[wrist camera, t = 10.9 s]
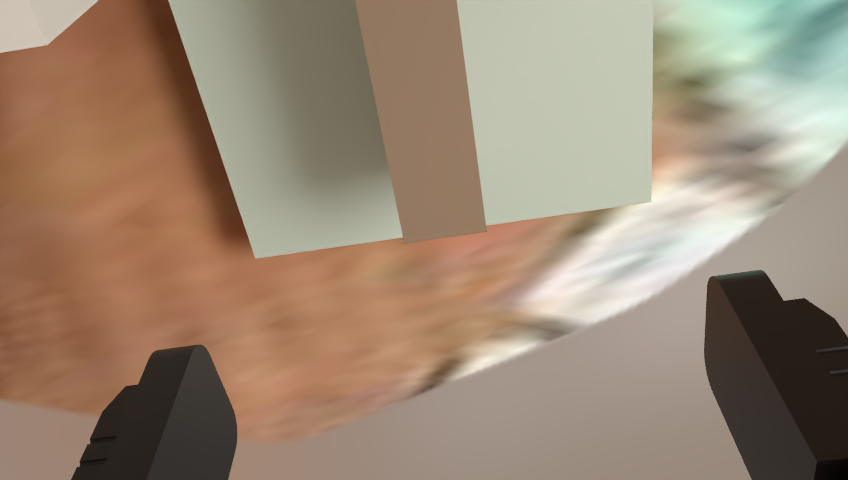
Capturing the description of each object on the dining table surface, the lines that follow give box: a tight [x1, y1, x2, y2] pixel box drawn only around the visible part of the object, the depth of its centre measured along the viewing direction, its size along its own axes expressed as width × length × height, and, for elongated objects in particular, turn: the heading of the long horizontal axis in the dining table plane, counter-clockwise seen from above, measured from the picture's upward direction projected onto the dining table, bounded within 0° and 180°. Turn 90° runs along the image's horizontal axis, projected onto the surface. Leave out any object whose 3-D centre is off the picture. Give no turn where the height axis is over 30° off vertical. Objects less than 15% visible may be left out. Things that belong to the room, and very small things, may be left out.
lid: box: [168, 0, 653, 259], centre depth 24 cm, size 15×15×7 cm
